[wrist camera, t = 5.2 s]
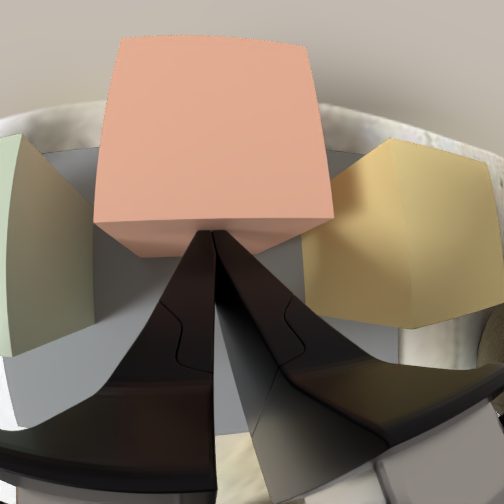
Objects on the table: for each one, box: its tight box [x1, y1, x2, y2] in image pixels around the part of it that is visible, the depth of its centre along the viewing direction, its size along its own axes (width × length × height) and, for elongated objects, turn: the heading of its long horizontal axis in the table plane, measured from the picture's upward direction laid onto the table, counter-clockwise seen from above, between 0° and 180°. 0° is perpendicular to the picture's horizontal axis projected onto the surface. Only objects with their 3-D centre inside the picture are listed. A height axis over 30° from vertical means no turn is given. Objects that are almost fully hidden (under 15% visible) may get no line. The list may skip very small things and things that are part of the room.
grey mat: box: [3, 147, 398, 436], centre depth 16 cm, size 16×24×1 cm, turn 93°
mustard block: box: [301, 138, 504, 329], centre depth 13 cm, size 6×6×8 cm
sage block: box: [0, 133, 95, 357], centre depth 9 cm, size 6×6×8 cm
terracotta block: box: [93, 35, 334, 258], centre depth 12 cm, size 6×6×8 cm
